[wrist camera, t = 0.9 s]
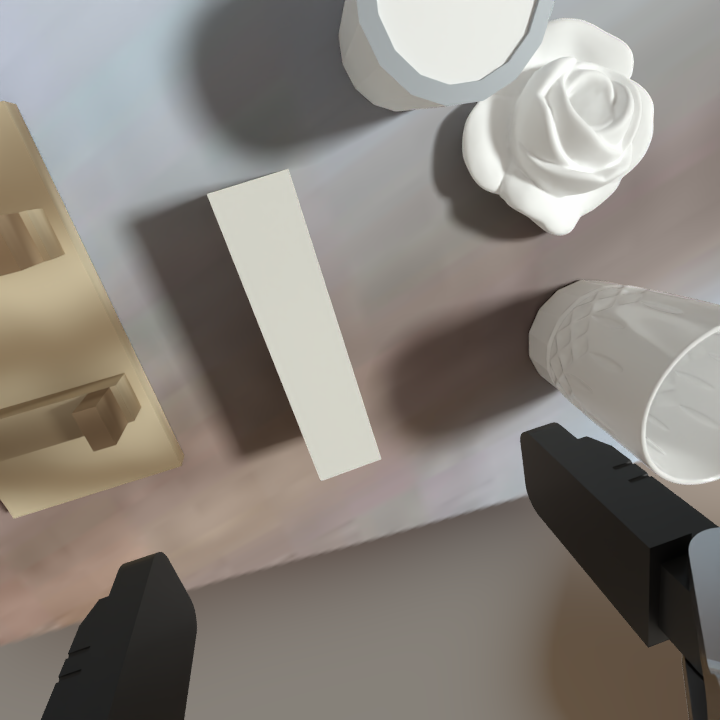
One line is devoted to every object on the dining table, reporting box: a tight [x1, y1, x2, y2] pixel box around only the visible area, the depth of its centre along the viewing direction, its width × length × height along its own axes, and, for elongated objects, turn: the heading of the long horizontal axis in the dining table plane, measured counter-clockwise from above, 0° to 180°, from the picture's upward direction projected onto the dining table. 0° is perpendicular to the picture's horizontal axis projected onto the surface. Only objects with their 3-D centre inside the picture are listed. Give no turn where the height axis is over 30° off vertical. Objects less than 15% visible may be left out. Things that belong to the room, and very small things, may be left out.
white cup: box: [529, 280, 720, 485], centre depth 24 cm, size 8×8×10 cm
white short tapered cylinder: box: [338, 0, 555, 112], centre depth 18 cm, size 7×7×7 cm
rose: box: [462, 18, 654, 235], centre depth 22 cm, size 10×4×10 cm
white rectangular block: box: [207, 169, 381, 481], centre depth 23 cm, size 14×3×5 cm, turn 16°
